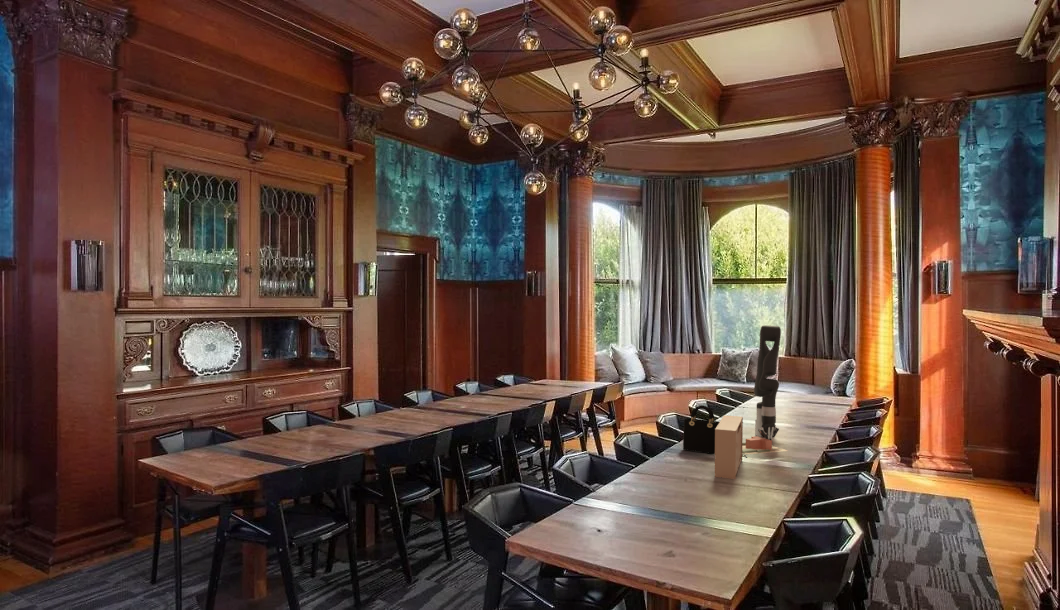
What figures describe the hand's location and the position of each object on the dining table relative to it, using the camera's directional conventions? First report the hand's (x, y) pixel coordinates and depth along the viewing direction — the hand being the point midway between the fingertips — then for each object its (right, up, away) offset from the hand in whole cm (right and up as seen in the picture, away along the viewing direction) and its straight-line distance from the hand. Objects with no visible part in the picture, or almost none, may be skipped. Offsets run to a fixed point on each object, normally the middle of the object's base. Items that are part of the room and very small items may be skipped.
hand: (768, 445), depth 356 cm
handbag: (-39, -2, -6) cm, 39 cm away
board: (-10, -2, -2) cm, 10 cm away
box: (-35, -2, -41) cm, 54 cm away
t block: (-8, -1, -3) cm, 8 cm away
